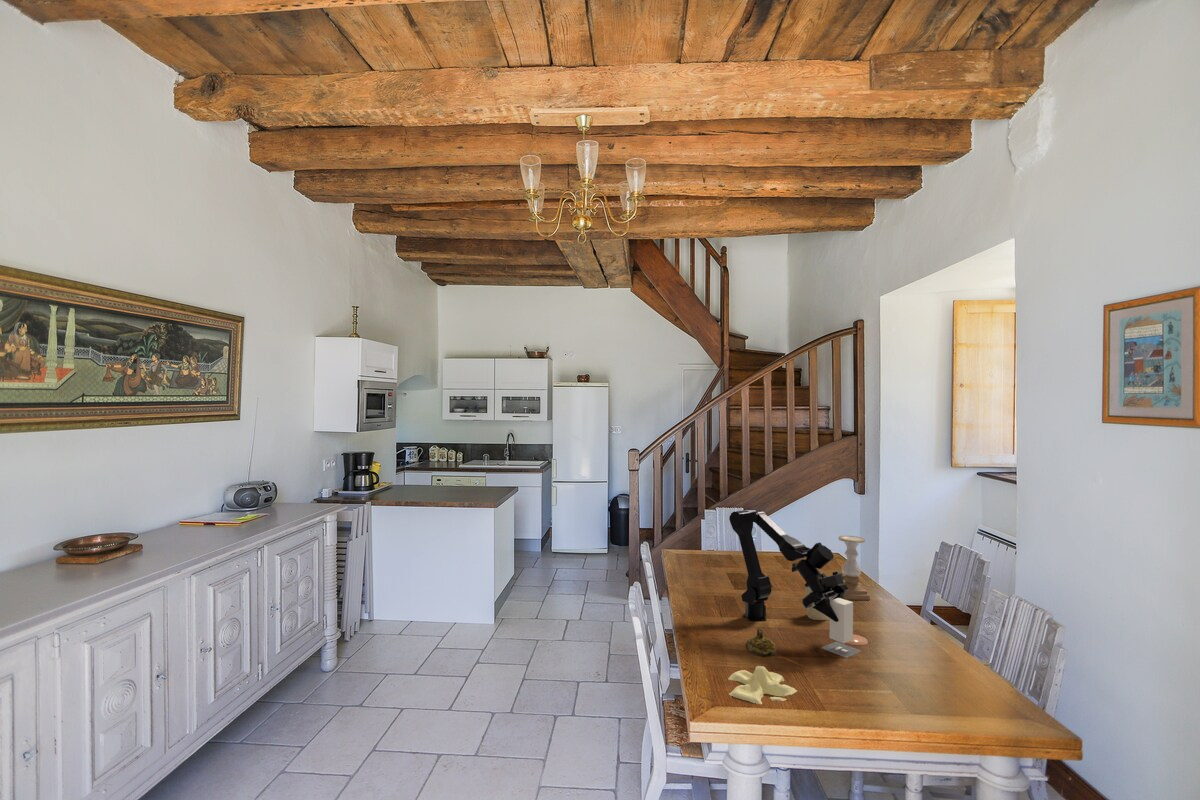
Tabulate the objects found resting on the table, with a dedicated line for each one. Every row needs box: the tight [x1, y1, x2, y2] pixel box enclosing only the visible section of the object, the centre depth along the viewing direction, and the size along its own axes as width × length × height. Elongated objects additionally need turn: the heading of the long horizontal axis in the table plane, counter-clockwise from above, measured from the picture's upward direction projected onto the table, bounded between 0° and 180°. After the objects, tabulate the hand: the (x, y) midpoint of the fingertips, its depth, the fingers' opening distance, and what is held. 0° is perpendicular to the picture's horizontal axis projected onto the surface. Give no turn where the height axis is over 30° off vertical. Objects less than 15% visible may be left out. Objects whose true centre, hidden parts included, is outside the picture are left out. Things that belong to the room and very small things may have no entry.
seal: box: [745, 627, 778, 658], centre depth 185 cm, size 9×5×15 cm
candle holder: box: [838, 535, 871, 601], centre depth 239 cm, size 11×11×24 cm
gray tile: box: [820, 641, 862, 659], centre depth 183 cm, size 9×9×1 cm
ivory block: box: [828, 598, 854, 644], centre depth 184 cm, size 5×5×12 cm
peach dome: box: [845, 633, 869, 646], centre depth 191 cm, size 9×9×1 cm
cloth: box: [728, 665, 798, 705], centre depth 158 cm, size 22×19×6 cm
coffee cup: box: [804, 585, 830, 621], centre depth 213 cm, size 9×9×12 cm
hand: (842, 619), depth 183 cm, fingers closed on ivory block, 5 cm apart
